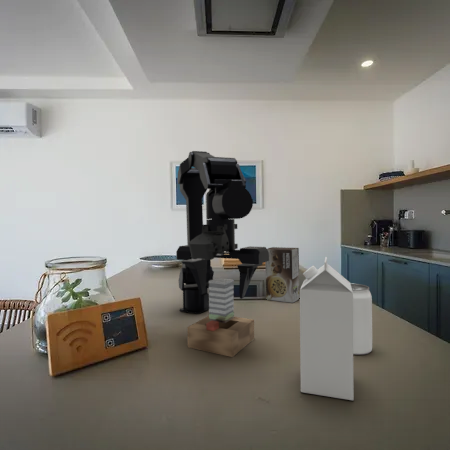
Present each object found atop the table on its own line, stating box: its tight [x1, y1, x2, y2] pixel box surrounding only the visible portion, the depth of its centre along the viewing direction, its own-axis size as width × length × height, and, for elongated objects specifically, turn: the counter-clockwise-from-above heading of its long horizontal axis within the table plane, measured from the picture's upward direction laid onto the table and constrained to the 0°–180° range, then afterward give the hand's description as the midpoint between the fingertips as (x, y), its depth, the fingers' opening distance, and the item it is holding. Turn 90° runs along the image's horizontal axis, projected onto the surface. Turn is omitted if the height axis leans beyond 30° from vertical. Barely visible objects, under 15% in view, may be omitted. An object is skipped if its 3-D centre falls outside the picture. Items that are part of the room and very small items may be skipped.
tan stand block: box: [186, 315, 255, 358], centre depth 64 cm, size 10×10×5 cm
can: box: [350, 283, 373, 356], centre depth 60 cm, size 6×6×12 cm
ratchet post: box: [208, 277, 235, 323], centre depth 64 cm, size 4×4×8 cm
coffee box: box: [264, 246, 300, 304], centre depth 98 cm, size 9×6×16 cm
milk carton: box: [299, 256, 355, 401], centre depth 47 cm, size 7×7×19 cm
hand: (221, 295), depth 64 cm, fingers open, 9 cm apart
